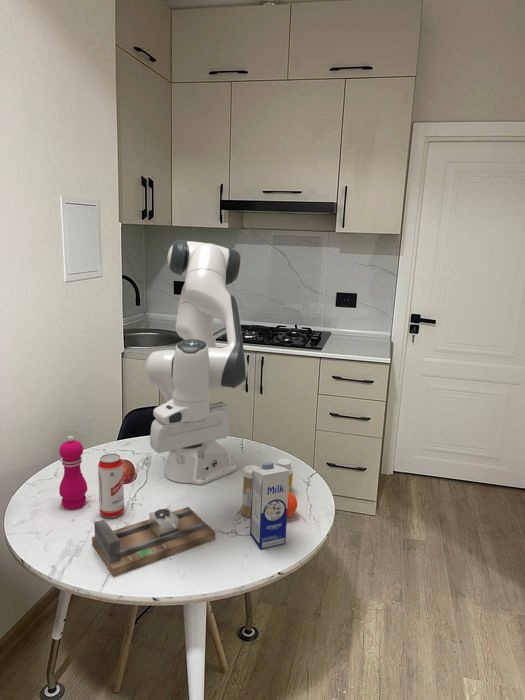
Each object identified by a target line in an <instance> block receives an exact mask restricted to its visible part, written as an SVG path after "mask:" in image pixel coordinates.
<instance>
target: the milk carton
mask: <svg viewBox="0 0 525 700" xmlns="http://www.w3.org/2000/svg"><path fill="white" fill-rule="evenodd" d="M289 471H290V470H288V469H287V468H284V467H281V466H278V465H277V464H276V465H274V463H273V462H266V463H262V464H261V468H260V467H259V469H252V493H251V517H250V524H249V525H250V527H249V535H250V537H251V539H253V541H254V542H255V544H256V545H257V547H258V548H259V550H264V549H269V548H273V547H277V546H282V545H286V542H287V541H286V540H287V537H286V536H287V535H286V534H287V524H288V523H287V522H288V521H287V520H288V517H287V504H288V485H289Z"/></svg>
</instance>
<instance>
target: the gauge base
mask: <svg viewBox="0 0 525 700" xmlns="http://www.w3.org/2000/svg"><path fill="white" fill-rule="evenodd" d="M172 512H173V513H174V514H175V515H176V516H177V517H178V527H179V531H176V532H173V533H170V534H167V535H165V536H162V537H159V538H158V537H157V536H156V535H155V534H154V532H153V531H152V530H151V529H150V523H149V519H145V520H142V521H139V522H136V523H132V524H130V525H127V526H124V527H120V528H117V529H112V528H111V526H110V525H109V524H108V522H107V521H106V519H101V520H98V521H94V522H93V523H94V525H93V527H94V535H93V536H91V543H92V544H91V545H92V547H93V548H94V550H95V552H97V554H98V556H99V557H100V558H101V561H102V562H103V564H104V565H105V566H106V568H107V569H108V571H109V572H110V574H111V575H112V577H113V578H114V577H116V576H119V575H121V574H123V573H127V572H130V571H133V570H136V569H138V568H140V567H143V566H146V565H148V564H152V563H154V562H158V561H159V560H162V559H165V558H167V557H171V556H174V555H176V554H179V553H181V552H184V551H187V550H190V549H192V548H195V547H198V546H200V545H203V544H206V543H209V542H211V540H212V541H214V540H216V530H214V529H213V528H212V527H211V526H209V524H208V523H206V521H204V520H203V519H202V518H201V517H200V516H199V515H198V514H197V513H196V512H195V511H194V510H192V509H191V508H190V507H189V506H187V507H183V508H180V509H178V510H173V511H172ZM208 541H209V542H208Z"/></svg>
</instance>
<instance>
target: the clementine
mask: <svg viewBox="0 0 525 700" xmlns="http://www.w3.org/2000/svg"><path fill="white" fill-rule="evenodd" d="M297 508H298V500H297V497H296V496H295V495H294V494H293V493H292V491H291V492H289V491H288V504H287V518H290V517H291V516H293V515H294V514H295V513H296V511H297Z"/></svg>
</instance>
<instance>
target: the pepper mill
mask: <svg viewBox="0 0 525 700" xmlns="http://www.w3.org/2000/svg"><path fill="white" fill-rule="evenodd" d="M83 453H84V447H83V444H82V442H80V441H78V440H75V437H74V436H73V435H68V436H67V438H66V441H64V442H63V443H61V445H60V447H59V453H58V454H59V455H60V458H62V459H61V464H62V466H63V469H64V470H63V471H64V472H63V476H62V479H61V481H60V484H59V489H58V490H59V491H58V492H59V495H60V497H61V507H62V508H63V509H65V510H77V509H80V508H82V507H84V506H85V505H86V503H87V496H86V493H87V492H88V483H87V480H86V479H85V477H84V476H83V473H82V469H81V464H82V461H83V460H82V458H83V457H82V455H83Z"/></svg>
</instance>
